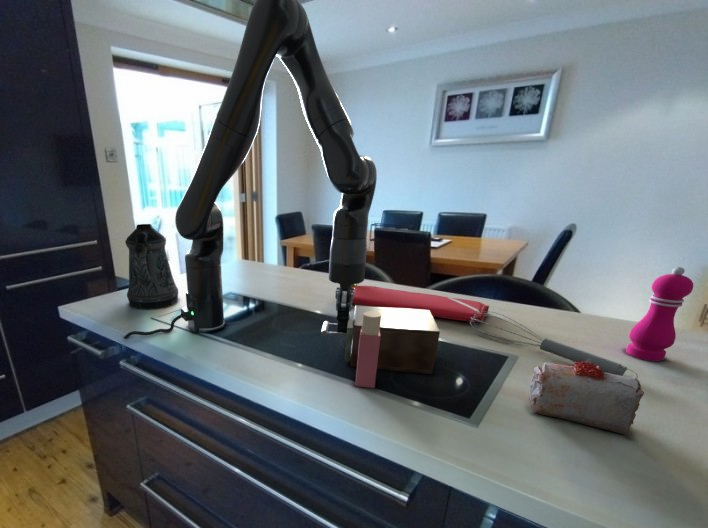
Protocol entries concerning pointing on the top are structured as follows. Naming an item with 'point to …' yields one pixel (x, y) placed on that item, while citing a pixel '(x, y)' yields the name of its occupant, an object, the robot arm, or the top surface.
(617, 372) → the kitchen whisk
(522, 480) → the top surface
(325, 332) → the drawer
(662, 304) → the pepper mill
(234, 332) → the top surface
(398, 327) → the cabinet
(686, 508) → the top surface
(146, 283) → the beer stein
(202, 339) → the top surface
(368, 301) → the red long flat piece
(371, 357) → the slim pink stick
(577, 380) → the food item
